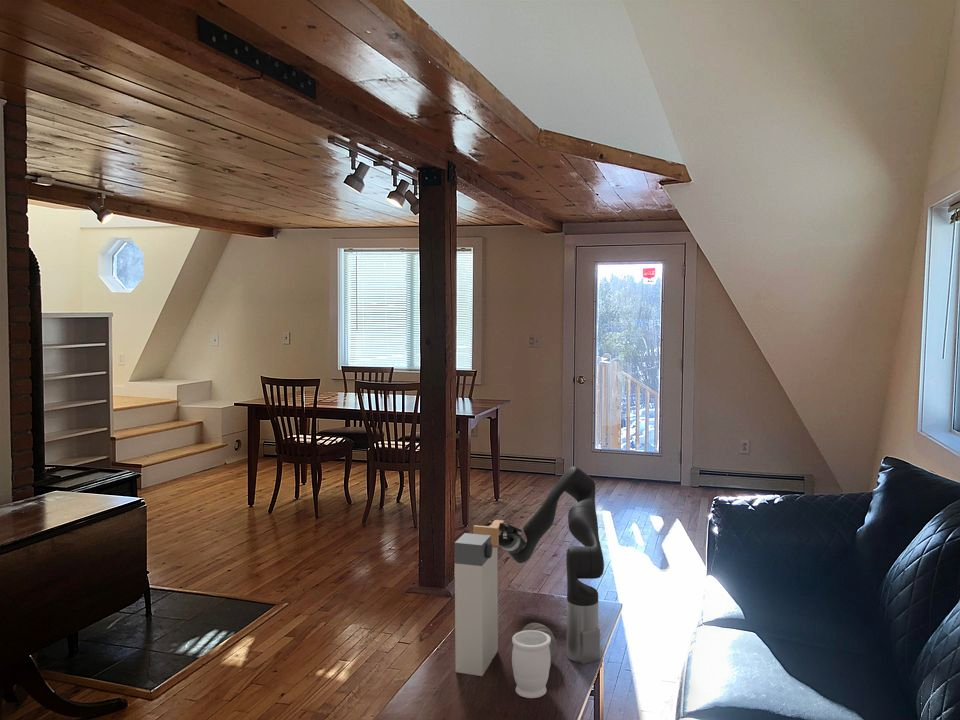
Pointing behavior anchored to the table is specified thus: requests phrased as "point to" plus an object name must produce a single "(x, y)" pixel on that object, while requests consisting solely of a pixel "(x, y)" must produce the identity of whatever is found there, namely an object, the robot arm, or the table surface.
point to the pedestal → (475, 603)
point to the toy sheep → (546, 630)
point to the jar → (531, 662)
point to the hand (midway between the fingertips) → (495, 525)
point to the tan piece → (490, 531)
